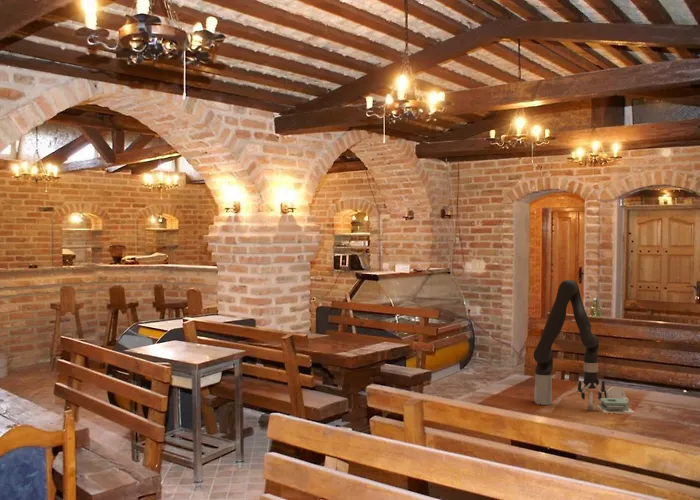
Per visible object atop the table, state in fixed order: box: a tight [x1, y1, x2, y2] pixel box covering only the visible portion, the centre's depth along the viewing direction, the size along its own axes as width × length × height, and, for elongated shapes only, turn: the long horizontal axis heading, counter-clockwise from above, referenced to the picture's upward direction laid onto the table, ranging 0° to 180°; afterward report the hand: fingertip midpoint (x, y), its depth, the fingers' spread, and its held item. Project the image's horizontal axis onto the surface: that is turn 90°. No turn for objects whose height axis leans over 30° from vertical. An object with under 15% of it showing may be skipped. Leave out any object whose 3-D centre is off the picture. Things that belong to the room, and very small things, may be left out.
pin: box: [587, 389, 595, 412], centre depth 356 cm, size 3×3×11 cm
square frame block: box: [596, 397, 635, 415], centre depth 355 cm, size 16×13×5 cm
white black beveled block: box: [602, 386, 630, 403], centre depth 372 cm, size 17×5×10 cm, turn 123°
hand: (591, 399), depth 356 cm, fingers open, 8 cm apart
